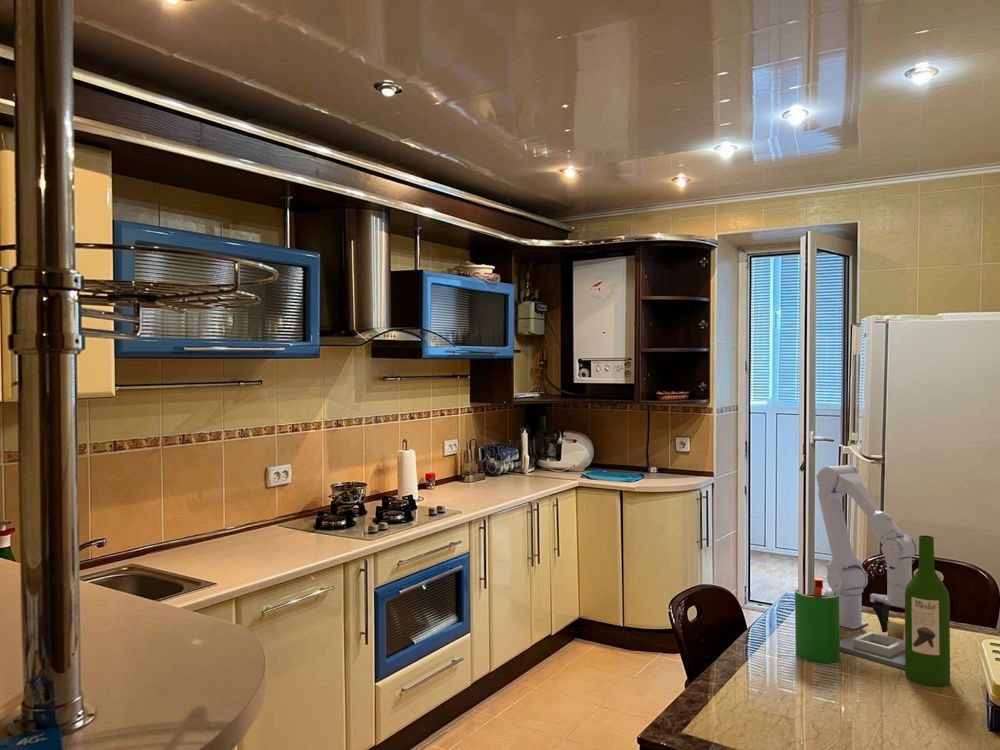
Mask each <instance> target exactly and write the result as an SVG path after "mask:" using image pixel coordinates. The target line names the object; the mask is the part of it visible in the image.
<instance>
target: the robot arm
mask: <svg viewBox="0 0 1000 750" xmlns="http://www.w3.org/2000/svg"><path fill="white" fill-rule="evenodd" d="M862 476H863V475H861V474H860V473H859V472H858V469H857V468H856V467H855V466H854V465H852V464H846V465H845V464H844V465H834V466H830V465H828V466H827V465H825V466H823V467H821V469H819V471H818V473H817V474H816V480H817V481H816V483H817V485H818V486H817V487H818V500H819V505H820V509H821V515H822V518H823V522H824V525H825V531H826V535H827V540H828V544H829V548H830V552H831V559H830V561H829V562H828V563H827V564H826V569H827V573H826V574H827V575H826V582H827V584H828V588H826V590H825V591H824V594H823V595H825V596H828V597H833V596H834V592H837V593H839V624H840V627H844V628H846V629H847V628H848V629H850V630H851V629H852V630H857V629H859V628H861V627H863V626H866V625H868V624H869V622H868V621H866V620H862V619H863V618H862V617H863V616H862V613H863V612H862V611H863V610H862V608H863V605H862V604H863V603H862V602H863V601H862V600H863V599H862V595H863V594H862V593H864V589H865V588H866V587H867V585H868V583H869V582H868V581H869V579H868V575H867V571H866V570H865V569H864V568H863V564H862V561H861V560H860V559H858V557H856V556H855V555H854V554H853V548H852V545H851V540H850V536H849V532H848V528H847V524H846V520H845V514H844V510H843V505H842V502H841V499H842V498H843V496H844V495H845V494H846V495H848V496H849V495H850V497H851V498H852V499H853V501H854V502H855V503H856V505H857V506H858V507H859V508H860V509H861V510H862V511H863V513H864V514H865V515H866V516H867V517H868V518H867V525H868V526H869V528H870V529H871V530H872V532H873V534H874V535H875V536H876V538H877V539H878V540H879V541H880V543H881V546H880V547H881V549H880V550H881V553H882V554H883V556H884V559H885V563H886V569H887V570H886V577H887V578H886V579H887V580H886V581H887V586H886V587H887V590H886V591H887V594H878V593H870V594H869V598H870V599H869V602H870V603H873V604H872V610H873V611H874V612H875V615H876V616H877V620H878V622H879V625H880V628H881V629H880V630H881V632H882V633H885V634H886V633H888V621H890V620H889V615H890V608H891V607H892V606H893V607H896V608H901V609H904V610H905V589H906V586H907V584H908V583H909V582H910V580H911V579H912V578H913V568H912V566H913V565H912V564H913V559H912V558H913V557H915V555H916V554H917V550H918V548H917V544H916V542H915V540H914V538H913V537H911V536H909V535H906V534H905V533H904V532H903V531H901V530H900V528H899V527H898V526H897V524H896V523H895V522H894V520H893V517H892V515H891V514H889V513H888V512H886V511H882V510H880V509H879V507H878V505H877V504H876V502H875V501H874V499H873V498H872V496H871V494H870V493H869V491H868V490H867V488H866V487H865V485H864V484H863V477H862Z"/></svg>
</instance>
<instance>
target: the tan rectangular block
mask: <svg viewBox="0 0 1000 750" xmlns="http://www.w3.org/2000/svg"><path fill="white" fill-rule="evenodd" d="M887 636H890V637H894V638H898V639H902V640H905V618H900V617H894V618H891V619H890V620H889V621H888V631H887Z"/></svg>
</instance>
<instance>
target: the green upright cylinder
mask: <svg viewBox="0 0 1000 750" xmlns="http://www.w3.org/2000/svg"><path fill="white" fill-rule="evenodd" d="M812 583H813V585H812V586H813V588H812V589H813V592H812V593H806V594H803V593H802V592H800V589H799V588H798V589H797V588H796V589H795V590H794V622H795V624H794V626H795V628H794V630H795V633H794V635H795V637H794V638H795V655H796V656H797V657H798V656H799V657H798V658H800V659H802V658H803V659H802V660H805V661H808V662H814V663H819V664H820V663H821V664H831V663H833V664H834V663H836V662H839V661H841V660H840V659H841V651H840V640H841V637H840V636H841V635H840V633H841V631H840V630H841V629H840V627H841V626H840V624H839V593H837V592H834V596H833V597H828V596H825V595H824V594H823V593H822V592H823V589H824V579H823V577H817V576H816V577H815V576H814V577H813V582H812Z"/></svg>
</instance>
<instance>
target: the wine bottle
mask: <svg viewBox="0 0 1000 750" xmlns="http://www.w3.org/2000/svg"><path fill="white" fill-rule="evenodd" d="M934 542H935V537H933V536H932V535H931V536H930V535H919V536H918V569H917V571H916V573H914V575H912V579H911V580H910V582H909V583H908V584H907V586H906V589H905V609H904V619H905V669H904V670H905V675H906V679H908V680H909V681H911V682H913V683H916V684H918V685H921V684H922V686H926V685H927V686H926V687H933V686H935V688H936V687H937V688H941V686H943V687H946V686H948V684H949V685H950V682H951V633H950V632H951V631H950V630H951V628H950V627H951V619H950V617H951V616H950V613H951V612H950V611H951V610H950V606H951V605H950V603H951V602H950V594H949V590H948V589H947V587H946V586H945V584H944V583H943V581H942V580H941V578H940V576H939V575H938V574H937V572H936V569H935V546H934V545H935V543H934Z"/></svg>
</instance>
